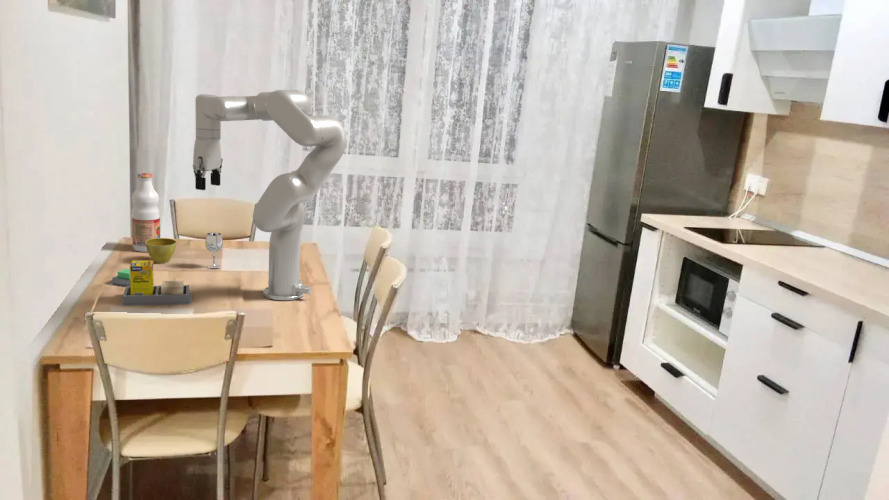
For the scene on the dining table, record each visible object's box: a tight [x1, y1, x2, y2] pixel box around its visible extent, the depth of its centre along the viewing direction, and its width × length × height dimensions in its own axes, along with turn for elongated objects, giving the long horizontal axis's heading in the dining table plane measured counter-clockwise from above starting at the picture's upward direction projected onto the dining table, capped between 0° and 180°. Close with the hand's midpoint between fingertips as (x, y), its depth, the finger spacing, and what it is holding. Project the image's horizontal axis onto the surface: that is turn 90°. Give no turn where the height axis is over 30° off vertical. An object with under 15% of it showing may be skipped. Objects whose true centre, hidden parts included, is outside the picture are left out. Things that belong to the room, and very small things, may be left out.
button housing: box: [107, 275, 130, 288], centre depth 214 cm, size 8×8×3 cm
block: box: [160, 280, 185, 295], centre depth 203 cm, size 6×6×4 cm
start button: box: [117, 268, 130, 279], centre depth 213 cm, size 4×4×2 cm
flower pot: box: [145, 237, 177, 264], centre depth 240 cm, size 10×10×7 cm
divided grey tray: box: [119, 284, 193, 307], centre depth 202 cm, size 19×11×4 cm, turn 109°
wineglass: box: [204, 231, 224, 269], centre depth 238 cm, size 6×6×12 cm
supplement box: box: [129, 260, 155, 295], centre depth 200 cm, size 6×6×11 cm
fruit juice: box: [131, 172, 161, 253], centre depth 250 cm, size 9×9×28 cm
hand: (208, 187), depth 223 cm, fingers open, 9 cm apart
